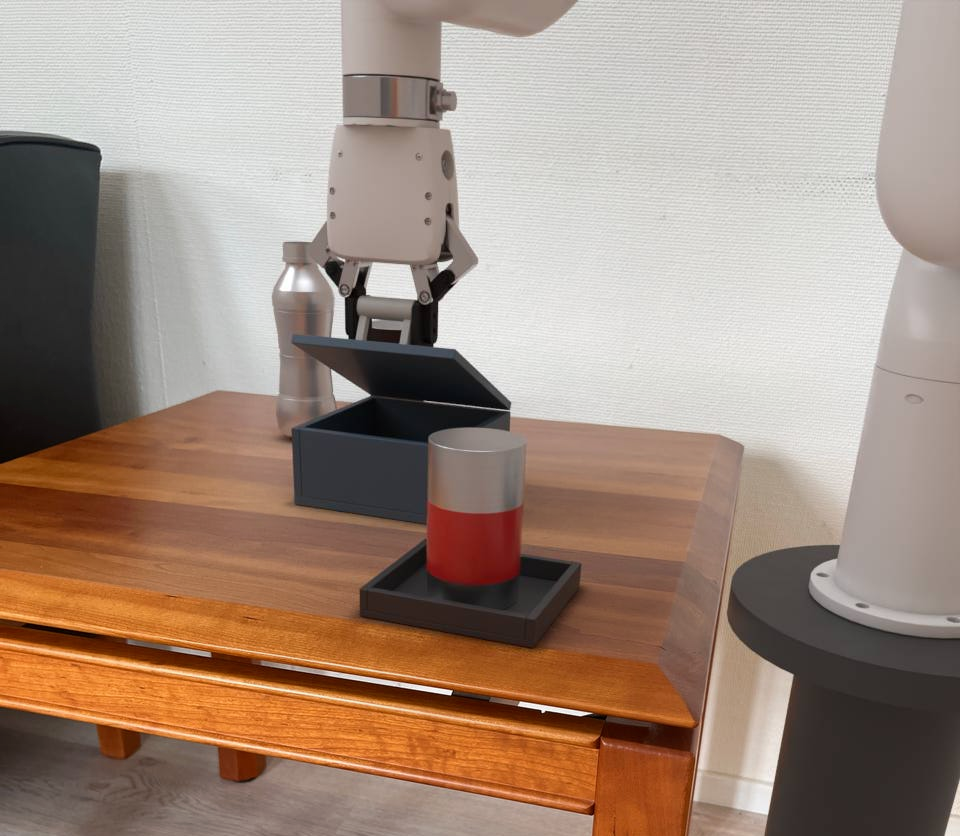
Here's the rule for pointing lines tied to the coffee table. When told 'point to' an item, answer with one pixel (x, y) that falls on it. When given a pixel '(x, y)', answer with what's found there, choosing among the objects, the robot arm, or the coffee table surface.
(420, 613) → the tray
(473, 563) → the can
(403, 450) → the chest
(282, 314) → the silver metal bottle
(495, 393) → the lid
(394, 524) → the coffee table surface
